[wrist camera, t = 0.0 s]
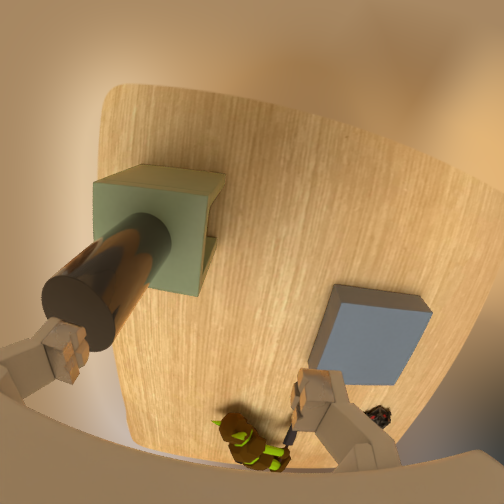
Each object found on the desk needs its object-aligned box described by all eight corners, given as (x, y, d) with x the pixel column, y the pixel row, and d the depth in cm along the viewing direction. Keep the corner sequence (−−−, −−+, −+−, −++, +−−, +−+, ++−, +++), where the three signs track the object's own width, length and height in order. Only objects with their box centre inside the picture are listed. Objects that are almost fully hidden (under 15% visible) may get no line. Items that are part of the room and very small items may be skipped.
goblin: (327, 422, 44) (276, 387, 39) (283, 490, 38) (219, 469, 32) (286, 406, 53) (235, 369, 47) (247, 465, 46) (186, 438, 41)
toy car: (345, 443, 47) (348, 460, 43) (362, 406, 42) (367, 425, 39) (374, 440, 47) (379, 456, 43) (395, 402, 42) (402, 420, 38)
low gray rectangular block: (334, 283, 34) (341, 302, 30) (420, 295, 34) (433, 312, 30) (307, 361, 38) (310, 382, 35) (386, 366, 39) (394, 385, 35)
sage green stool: (141, 163, 29) (92, 182, 20) (226, 173, 30) (208, 196, 20) (137, 235, 32) (95, 277, 23) (216, 248, 33) (198, 297, 23)
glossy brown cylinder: (118, 208, 21) (34, 267, 12) (173, 216, 21) (110, 286, 12) (118, 262, 23) (50, 339, 13) (170, 272, 23) (119, 361, 14)
